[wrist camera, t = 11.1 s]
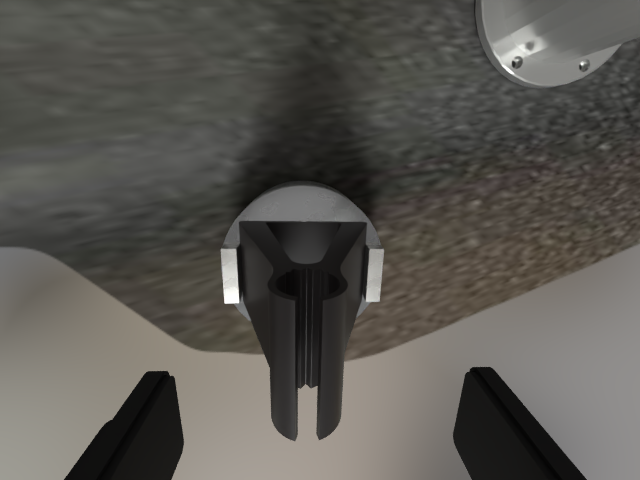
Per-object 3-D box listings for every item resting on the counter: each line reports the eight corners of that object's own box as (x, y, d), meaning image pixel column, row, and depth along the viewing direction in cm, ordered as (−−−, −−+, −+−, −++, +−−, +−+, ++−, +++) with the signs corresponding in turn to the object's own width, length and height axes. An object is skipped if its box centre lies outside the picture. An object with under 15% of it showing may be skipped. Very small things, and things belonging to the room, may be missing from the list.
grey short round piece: (372, 181, 26) (396, 190, 20) (363, 306, 29) (381, 348, 23) (231, 179, 25) (208, 187, 19) (238, 308, 28) (221, 352, 22)
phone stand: (366, 221, 22) (442, 299, 10) (360, 297, 23) (420, 437, 12) (239, 219, 21) (168, 300, 10) (243, 297, 23) (186, 445, 11)
